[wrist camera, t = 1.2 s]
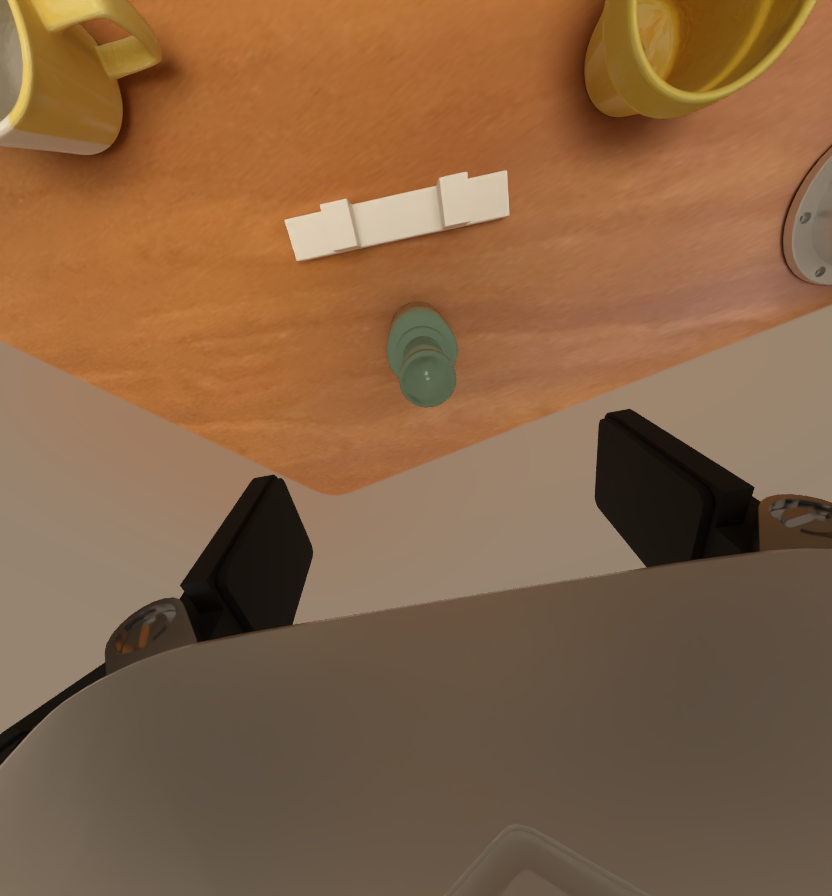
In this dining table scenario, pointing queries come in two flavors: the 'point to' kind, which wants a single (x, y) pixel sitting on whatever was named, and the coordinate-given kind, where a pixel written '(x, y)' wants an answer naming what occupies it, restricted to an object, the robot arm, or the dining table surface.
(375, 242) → the u rest
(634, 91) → the plant pot
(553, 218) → the dining table surface
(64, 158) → the dining table surface
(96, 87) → the mug
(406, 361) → the green bottle
